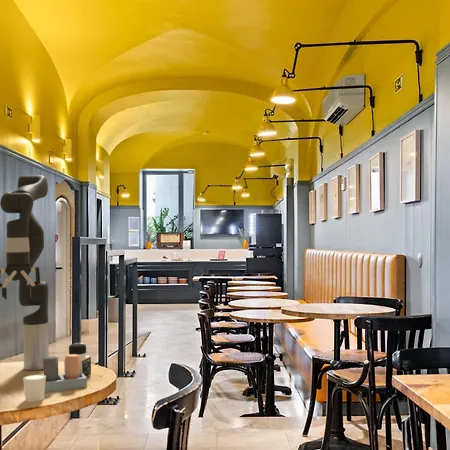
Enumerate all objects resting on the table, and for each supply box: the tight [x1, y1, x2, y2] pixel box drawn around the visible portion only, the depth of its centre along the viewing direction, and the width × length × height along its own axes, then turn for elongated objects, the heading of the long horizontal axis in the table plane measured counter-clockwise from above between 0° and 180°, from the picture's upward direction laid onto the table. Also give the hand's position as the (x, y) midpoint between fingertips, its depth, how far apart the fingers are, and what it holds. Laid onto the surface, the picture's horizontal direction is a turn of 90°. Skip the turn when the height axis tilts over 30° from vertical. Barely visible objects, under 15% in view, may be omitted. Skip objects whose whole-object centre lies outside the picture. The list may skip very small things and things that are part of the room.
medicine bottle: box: [63, 342, 92, 378], centre depth 208 cm, size 7×7×12 cm
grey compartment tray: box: [45, 354, 88, 393], centre depth 196 cm, size 9×15×10 cm, turn 114°
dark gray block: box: [42, 356, 59, 382], centre depth 195 cm, size 5×5×10 cm
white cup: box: [22, 374, 46, 403], centre depth 182 cm, size 7×7×7 cm
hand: (18, 297), depth 198 cm, fingers open, 8 cm apart
